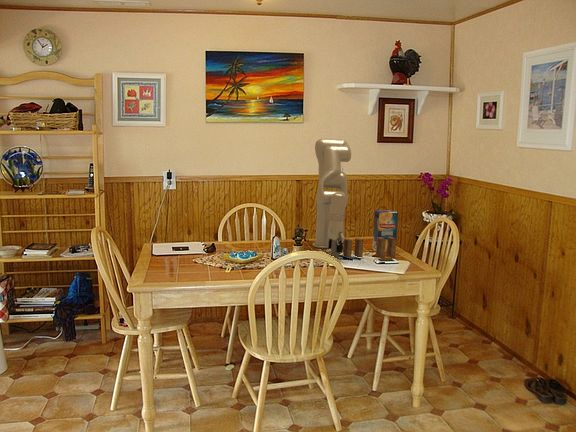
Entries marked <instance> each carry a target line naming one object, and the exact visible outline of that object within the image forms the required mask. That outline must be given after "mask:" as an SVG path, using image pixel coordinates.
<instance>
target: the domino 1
mask: <svg viewBox="0 0 576 432" xmlns="http://www.w3.org/2000/svg"><path fill="white" fill-rule="evenodd" d="M339 242H340V241H339ZM337 245H338V244H337V240H336V241H334V240H332V244H331V249H330V256H331V255H332V256H334V257H335V258H337V259H339V258H340V253H337V252H336V249H337ZM339 260H340V259H339Z"/></svg>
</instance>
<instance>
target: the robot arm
mask: <svg viewBox="0 0 576 432" xmlns="http://www.w3.org/2000/svg"><path fill="white" fill-rule="evenodd" d="M314 151H315V153H314V154H315V157H316V160H317V163H318V185H317V193H316V194H315V195H316V196H315V201H316V221H315V223H316V225H315V237H314V239H315V241H313V242H312V246H313V247H315V248H319V249H330V250H331V244H332V240H334V241H336V240H337V244H338V245H337V249H336V252H337V253H339V254H340V253H343V248H344V239H345V238H346V237H345V226H344V225H345V218H346V206H347V205H348V201H349V200H348V199H349V198H348V194H349V193H348V177H347V174H346V173H345V172H344V171H342V165H341V164H342V163H343V162H344V163H347V162H348V163H349V162H350V161H351V160H352V150H351V147H350V145H349V143H348V142H347V141H346V140H345V139H341V138H340V139H339V138H338V139H337V138H320V139H318V140H316V142H315V144H314ZM325 189H327V190H325ZM328 189H329V190H328ZM330 189H336V190H330ZM339 241H340V242H339Z"/></svg>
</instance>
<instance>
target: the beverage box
mask: <svg viewBox="0 0 576 432" xmlns="http://www.w3.org/2000/svg"><path fill="white" fill-rule="evenodd" d="M373 220H374V221H373V233H372V246H371V247H372V250H373V251H375V252H376V248H377V237H381V238H384V239H386V242H385V252H386V253H387V243H388V237H393V238H395V239H396V240H397V233H398V232H397V231H398V220H399V212H398V211H395V210H385V209H384V210H374V219H373Z"/></svg>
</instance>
